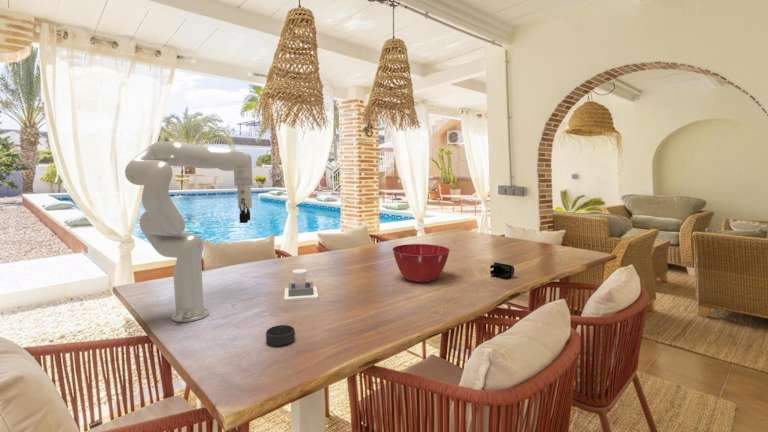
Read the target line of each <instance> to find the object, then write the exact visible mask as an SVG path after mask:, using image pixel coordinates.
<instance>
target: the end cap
mask: <svg viewBox="0 0 768 432" xmlns="http://www.w3.org/2000/svg"><path fill="white" fill-rule="evenodd" d="M489 269H490V272H489V273H490V277H492V278H495V277H496V278H495V279H499V278H500V279H501V280H505V281H506V280H509V279H511V278H512V277H513V276H514V275H515V267H514V265H513V264H512V265H511V264H506V263H500V262H494V263H492V264H490V266H489Z"/></svg>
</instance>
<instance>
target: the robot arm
mask: <svg viewBox="0 0 768 432" xmlns="http://www.w3.org/2000/svg"><path fill="white" fill-rule="evenodd" d="M252 161H253V160H252V156H251V155H250V153H245V152H243V151H238V150H233V149H227V148H219V147H213V146H204V145H199V144H193V143H189V142H183V141H177V140H169V141H168V140H167V141H157V142H154V143H152V144H151V145H150V146H148V147H146V149H144V150H143V151H142V152H140V153H139V154H138V155H137V156H135V157H134V158H133V159H131V160H130V161H129V162H128V164H126V167H125V169H124V174H125V178H126V180H128V182H129V183H131V184H133V185H136V186H143V189H142V194H141V203H142V207H143V208H144V209H145V211H144V212H143V213H142V214H141V216H140V218H139V227H140V229H141V233H142V234H143V235H144V237H145V238H146V239H147V241H148V242H149V244H150V245H151V246H152V247H153V249H154V250H155V251H156V252H157V253H158V254H159V255H161V256H162V257H166V258H172V259H176V261H175V264H174V266H173V272H172V274H173V286H174V287H173V289H174V302H175V312H174V313H172V315H171V321H174V322H177V323H188V322H194V321H198V320H201V319H204V318H206V317H207V316H208V315H209V309H207V308H205V305H204V303H205V301H204V287H203V286H204V285H203V269H202V266H203V265H202V261H203V259H202V258H203V253H204V252H203V251H204V242H203V240H202V238H201V237H200V236H199V235H197V234H195V233H190V232H184V231H185V229H186V222H185V219H184V217H183V216H182V214H181V213H180V210H178V208H177V206H176V204H175V203H174V201H173V200H172V198H171V196H170V191H169V190H170V185H171V182H172V179H173V169H172V167H171V166H182V167H188V168H189V167H190V168H196V169H206V170H207V169H209V170H210V169H217V170H220V171H224V172H232V171H233V179H234V180H233V183H234V185H233V186H234V187H236V190H237V207H238V209H239V223H240V224H247V223H248V222H249V221H251V211H250V209H251V208H252V207H253V201H252V189H251V188H252V187H253V185H254V183H253V165H252V164H253V163H252Z"/></svg>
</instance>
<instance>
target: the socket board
mask: <svg viewBox="0 0 768 432" xmlns="http://www.w3.org/2000/svg"><path fill="white" fill-rule="evenodd" d="M318 299H319V295H318V289H317V286H315V285H314V284H313V281H306V284H305V288H297V289H296V288H295V282H292V283H290V282H289V283H288V287H286V288H284V297H283V300H284V302H294V301H307V300H318Z"/></svg>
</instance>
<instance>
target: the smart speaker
mask: <svg viewBox="0 0 768 432" xmlns="http://www.w3.org/2000/svg"><path fill="white" fill-rule="evenodd" d="M295 338H296V331H295V328H294V327H293V326H291V325H287V324H282V325H281V324H280V325H274V326H272V327H270V328H268V329H267V330H266V332H265V341H266V343H267V344H268V345H270V346H273V347H281V346H282V347H283V346H288V345H289V344H292V342H294V341H295Z"/></svg>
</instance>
